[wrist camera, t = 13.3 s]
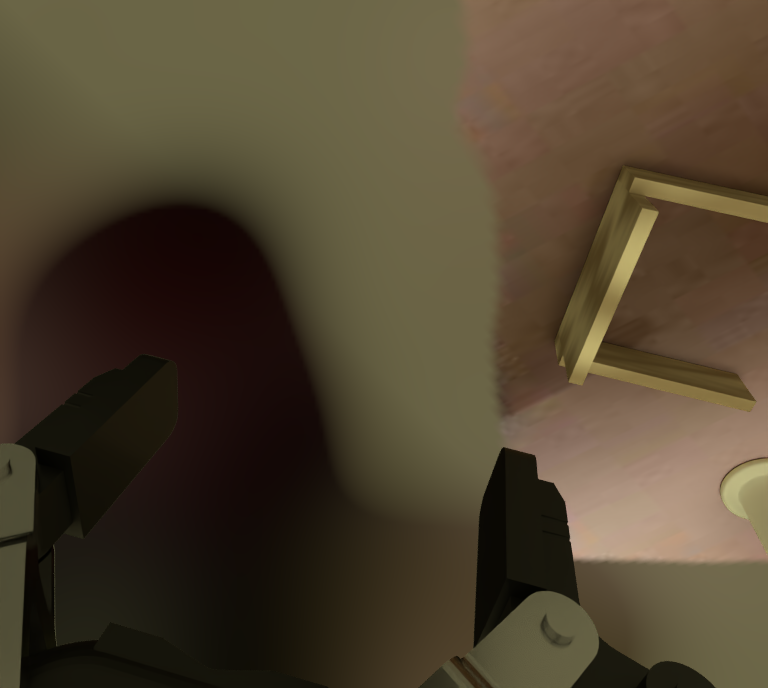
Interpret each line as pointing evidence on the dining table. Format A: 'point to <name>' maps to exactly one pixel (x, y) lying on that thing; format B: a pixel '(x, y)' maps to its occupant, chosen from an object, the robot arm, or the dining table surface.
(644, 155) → the dining table surface
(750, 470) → the candle
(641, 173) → the cubby
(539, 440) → the dining table surface
